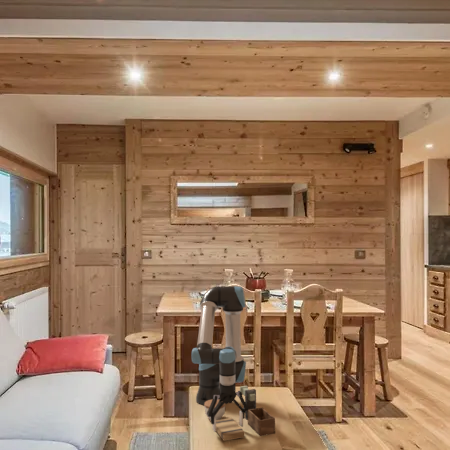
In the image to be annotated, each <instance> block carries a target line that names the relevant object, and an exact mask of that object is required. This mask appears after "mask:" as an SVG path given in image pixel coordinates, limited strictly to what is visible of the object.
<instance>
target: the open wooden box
mask: <svg viewBox="0 0 450 450" xmlns="http://www.w3.org/2000/svg"><path fill="white" fill-rule="evenodd" d="M247 425H248V426H249V427H250V428H251V429H252V430H253V431H254V432H255V433H256V434H257V435H258V436H259V437H262V436H263V437H264V436H267V435H273V434H276V418H275V417H274V416H273V415H272V414H271V413H269V412H268V411H267V410H266V409H264V407H258V408H257V407H256V409H250V410H248V420H247Z"/></svg>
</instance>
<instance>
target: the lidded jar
mask: <svg viewBox="0 0 450 450" xmlns="http://www.w3.org/2000/svg"><path fill="white" fill-rule="evenodd" d="M212 400H213V399H212ZM212 400H208V401H206V402H205V403H204V405H203V406H204V413H205V416H206V417H207V418H208V420H209V421H211V417H208V415H207V412H208V409H209V407H210V405H211V402H212ZM218 402H219V399H218V400H217V402H216V405H217V404H218ZM216 405H215V407H216ZM215 407H214V408H215ZM213 410H214V409H213ZM225 412H226V404H225V403H224V405H223V406H222V407H221V408H220V409H219V411H218V412H217V414H216V415H215V417H216V420H222V418H223V416H224V414H225Z"/></svg>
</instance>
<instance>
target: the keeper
mask: <svg viewBox="0 0 450 450" xmlns="http://www.w3.org/2000/svg"><path fill="white" fill-rule="evenodd" d="M248 393H254V394H255V401H250V400H249V398H248ZM244 401H245V403H246V405H247V407H248V410H250V409H256V408H257V390H256V389H255V388H252V389H251V388H250V389H249V390H245V396H244ZM244 419H245V420H246V421H248V411H246V412H245V418H244Z"/></svg>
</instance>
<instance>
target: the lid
mask: <svg viewBox="0 0 450 450" xmlns="http://www.w3.org/2000/svg"><path fill="white" fill-rule="evenodd" d="M216 433H217V434H218V436H219V437H220V438H221V439H222V440H223V442H225V441H230V440H236V439H240V438H245V431H244V430H243V428H242V427H241V426H240V425H239V424H238V423H237V422H236V420H234V419H233V418H232V417H229V418H223V419H222V418H221V419H220V420H216Z"/></svg>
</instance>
